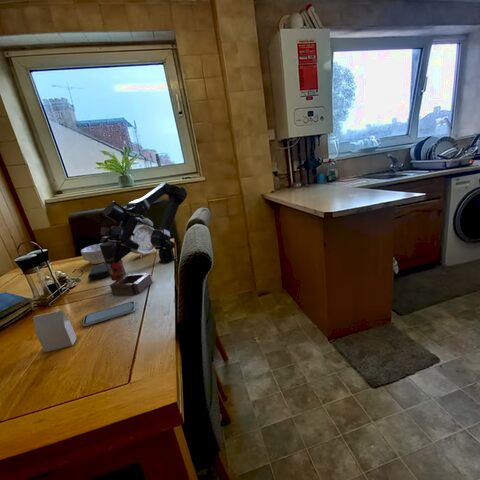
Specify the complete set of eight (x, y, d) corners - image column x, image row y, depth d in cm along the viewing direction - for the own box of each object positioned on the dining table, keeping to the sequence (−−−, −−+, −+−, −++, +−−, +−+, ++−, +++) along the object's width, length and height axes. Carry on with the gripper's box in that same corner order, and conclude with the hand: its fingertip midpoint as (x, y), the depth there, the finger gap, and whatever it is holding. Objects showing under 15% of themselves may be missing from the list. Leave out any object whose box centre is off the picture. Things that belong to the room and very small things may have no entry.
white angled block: (72, 345, 76) (59, 313, 73) (44, 352, 74) (29, 320, 71) (76, 337, 79) (64, 307, 76) (50, 344, 78) (35, 313, 74)
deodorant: (108, 281, 113) (96, 246, 108) (115, 275, 119) (103, 242, 114) (123, 279, 114) (111, 244, 108) (128, 273, 119) (118, 240, 114)
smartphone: (85, 314, 90) (134, 300, 96) (85, 317, 91) (134, 302, 96) (82, 325, 84) (134, 309, 90) (83, 327, 84) (135, 311, 90)
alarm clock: (136, 260, 143) (124, 218, 135) (127, 259, 147) (115, 218, 140) (162, 250, 155) (153, 211, 147) (153, 249, 160) (143, 211, 152)
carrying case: (115, 276, 124) (117, 266, 137) (113, 269, 123) (115, 260, 136) (88, 282, 121) (93, 271, 134) (86, 275, 120) (91, 265, 133)
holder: (128, 282, 115) (125, 273, 114) (153, 281, 113) (151, 272, 112) (110, 295, 105) (107, 286, 103) (138, 294, 103) (135, 285, 101)
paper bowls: (107, 264, 142) (102, 250, 139) (79, 267, 143) (73, 253, 140) (122, 254, 156) (118, 241, 153) (96, 257, 157) (91, 244, 154)
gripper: (97, 217, 116) (79, 251, 111) (123, 218, 106) (105, 255, 101) (120, 231, 124) (104, 262, 120) (146, 232, 115) (130, 267, 110)
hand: (110, 262), depth 113 cm, fingers closed on deodorant, 6 cm apart
